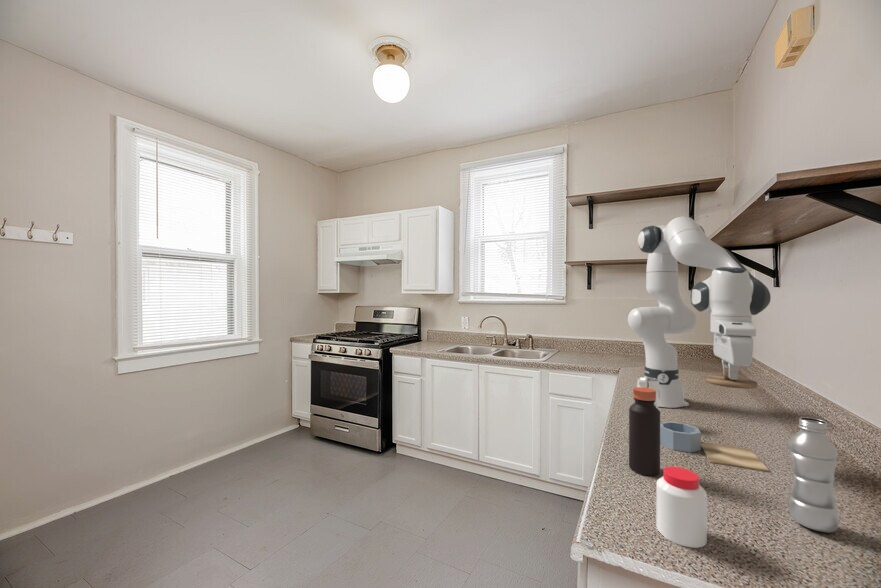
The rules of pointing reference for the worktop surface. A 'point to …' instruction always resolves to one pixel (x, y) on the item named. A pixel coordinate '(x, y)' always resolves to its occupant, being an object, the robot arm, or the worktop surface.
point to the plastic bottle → (813, 476)
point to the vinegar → (644, 433)
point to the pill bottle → (681, 507)
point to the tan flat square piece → (732, 456)
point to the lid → (730, 381)
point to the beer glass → (650, 386)
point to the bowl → (680, 436)
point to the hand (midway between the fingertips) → (730, 377)
